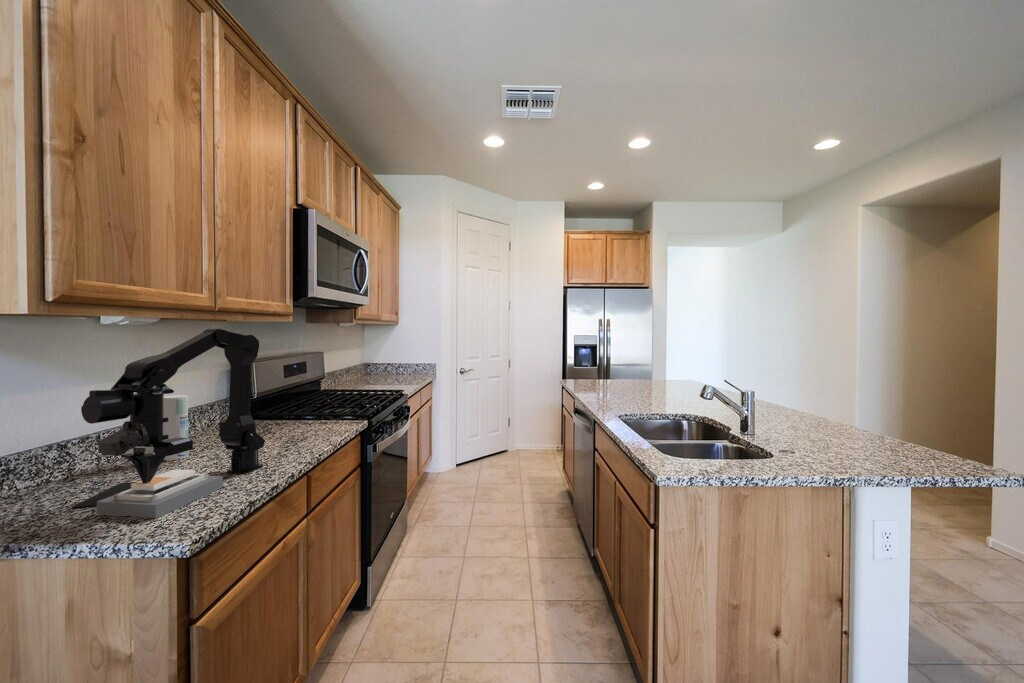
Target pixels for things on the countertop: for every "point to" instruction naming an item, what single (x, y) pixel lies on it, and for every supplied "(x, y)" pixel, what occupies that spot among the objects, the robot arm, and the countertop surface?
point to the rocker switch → (163, 480)
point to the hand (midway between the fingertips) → (146, 482)
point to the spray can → (176, 421)
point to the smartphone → (104, 495)
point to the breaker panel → (159, 497)
